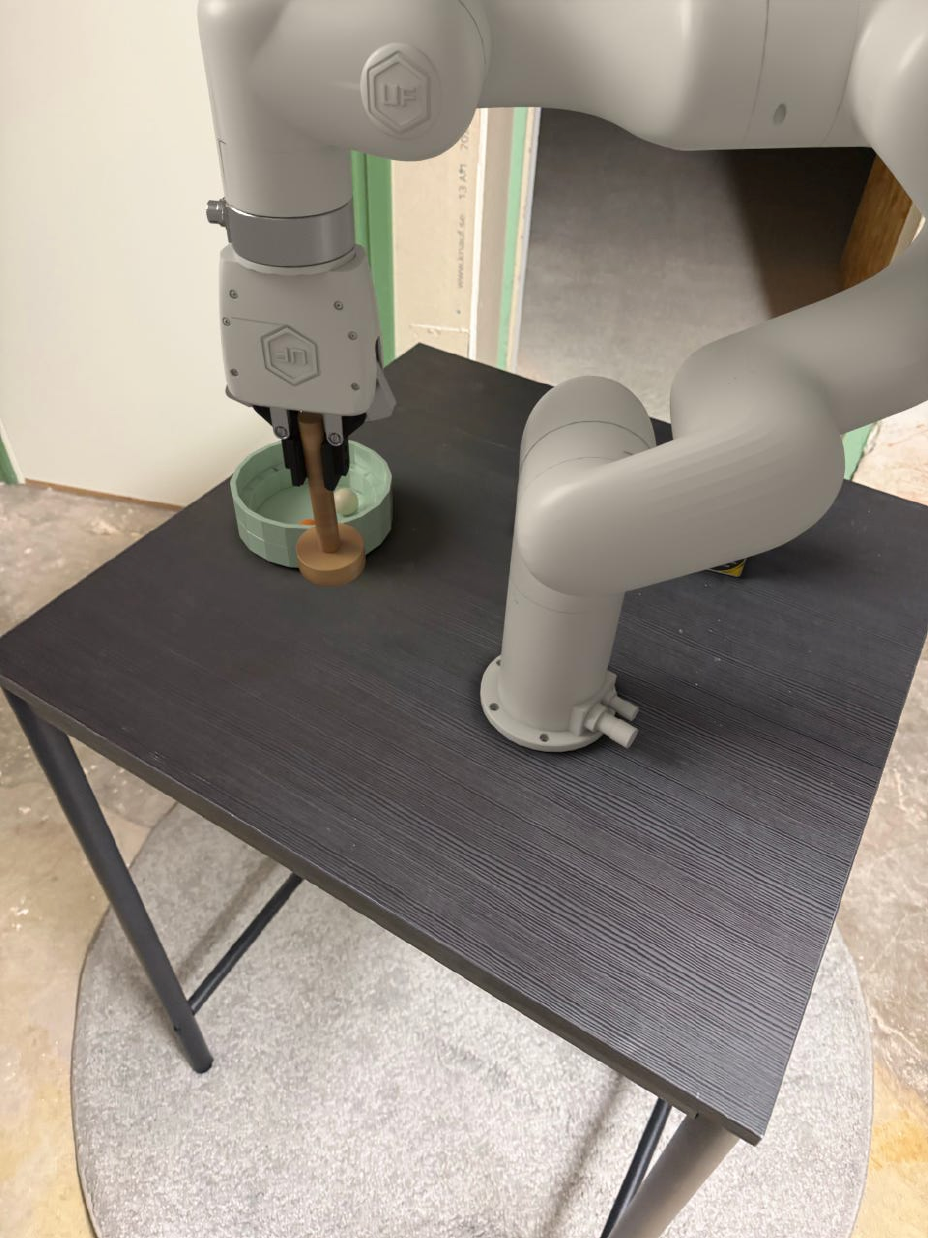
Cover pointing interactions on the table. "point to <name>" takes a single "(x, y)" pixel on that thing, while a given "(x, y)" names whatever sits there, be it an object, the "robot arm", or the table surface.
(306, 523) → the bead orange
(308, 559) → the wooden mushroom stand
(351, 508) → the bead cream
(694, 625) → the table surface
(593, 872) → the table surface
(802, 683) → the table surface
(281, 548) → the bowl
